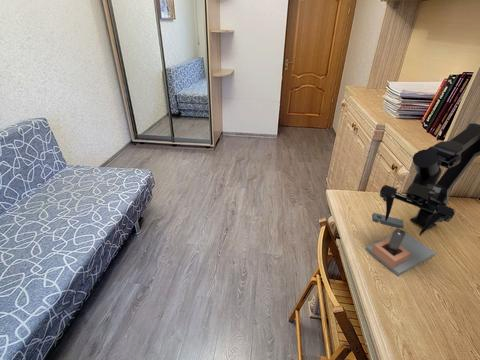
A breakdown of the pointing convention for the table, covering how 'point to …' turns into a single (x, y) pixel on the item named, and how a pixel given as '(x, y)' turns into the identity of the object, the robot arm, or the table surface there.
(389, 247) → the peg
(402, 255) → the socket base
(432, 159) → the robot arm
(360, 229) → the table surface
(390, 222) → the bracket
